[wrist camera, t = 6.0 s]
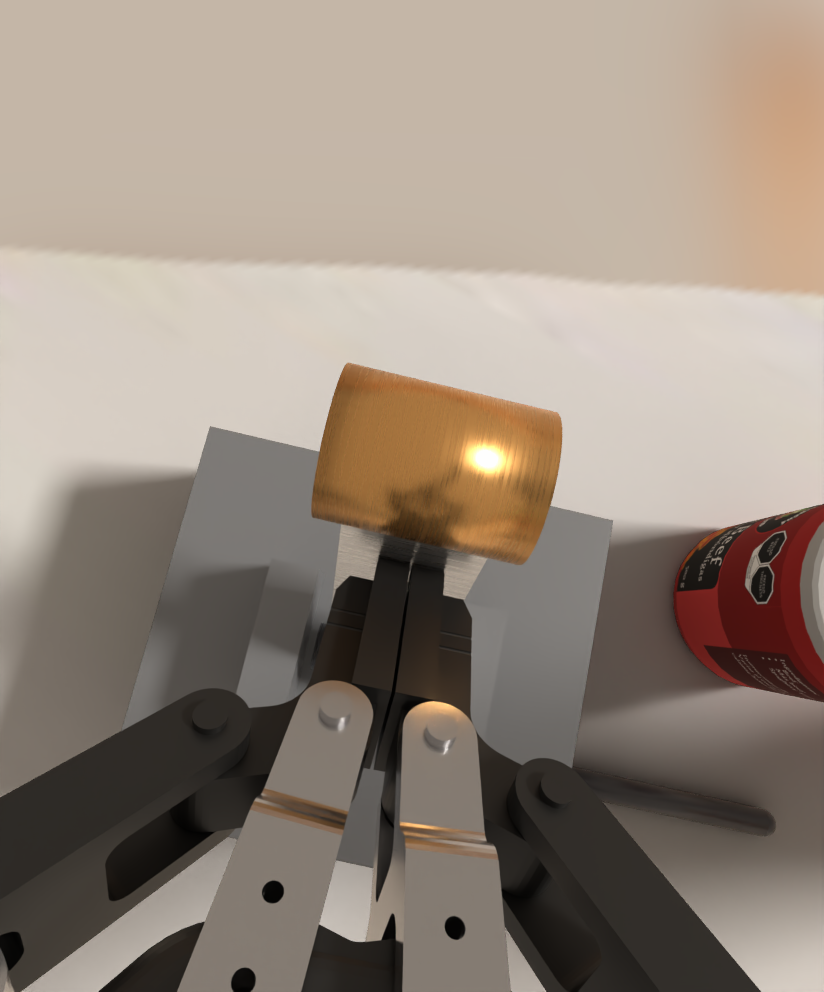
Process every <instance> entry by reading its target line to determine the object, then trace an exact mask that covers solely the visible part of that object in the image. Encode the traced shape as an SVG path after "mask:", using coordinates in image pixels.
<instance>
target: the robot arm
mask: <svg viewBox="0 0 824 992" xmlns="http://www.w3.org/2000/svg"><path fill="white" fill-rule="evenodd" d="M409 569H410V564H405V563H401V562H396V561H392V560H387V559H382V558H378V562H377V566H376V570H375V575H374V579H373V580H369V579H365V578H360V577H355V576H351V575H350V576H349V577H348V578H347V579H346V580H345V581H344V582H343V583H342V584H341V585H340V586H339V587H338V588H337V589H336V591H335V595H334V598H333V602H332V606H331V610H330V613H329V616H328V620H327V624H326V627H325V630H324V634H323V637H322V641H321V645H320V648H319V652H318V655H317V659H316V662H315V666H314V669H313V673H312V676H311V679H310V682H309V684H308V685H307V687H306V688H305V689H304V691H303V692H302V693H301V694H299V695H298V696H297V697H295V698H294V699H292V700H290V701H288V702H286V703H283V704H279V705H274V706H265V707H253V708H249V707H248V705H247V704H246V702H245V701H244V700H243V699H242V698H241V697H240V696H238V695H237V694H235V693H233V692H231V691H228V690H224V689H218V688H207V689H201V690H198V691H195V692H192V693H190V694H188V695H186V696H184V697H182V698H181V699H179V700H177V701H175V702H173V703H172V704H170V705H168V706H166V707H164V708H162V709H161V710H159V711H157V712H155V713H153V714H152V715H150V716H148V717H146V718H144V719H142V720H141V721H139V722H137V723H135V724H133V725H131V726H130V727H128V728H126V729H124V730H122V731H121V732H119V733H117V734H115V735H113V736H111V737H110V738H108V739H106V740H104V741H102V742H101V743H99V744H97V745H95V746H93V747H91V748H90V749H88V750H86V751H84V752H82V753H81V754H79V755H77V756H75V757H73V758H71V759H70V760H68V761H66V762H64V763H62V764H61V765H59V766H57V767H55V768H53V769H51V770H50V771H48V772H46V773H44V774H42V775H41V776H39V777H37V778H35V779H33V780H31V781H30V782H28V783H26V784H24V785H22V786H21V787H19V788H17V789H15V790H13V791H11V792H10V793H8V794H6V795H4V796H2V797H1V798H0V992H21V991H22V990H23V989H25V988H26V987H27V986H29V985H30V984H31V983H33V982H34V981H35V980H37V979H38V978H39V977H41V976H42V975H44V974H45V973H46V972H48V971H49V970H50V969H52V968H53V967H54V966H56V965H57V964H58V963H60V962H61V961H62V960H64V959H65V958H66V957H68V956H69V955H70V954H72V953H73V952H74V951H76V950H77V949H78V948H80V947H81V946H82V945H84V944H85V943H86V942H88V941H89V940H90V939H92V938H93V937H94V936H96V935H97V934H98V933H100V932H101V931H102V930H104V929H105V928H106V927H108V926H109V925H110V924H112V923H113V922H114V921H116V920H117V919H119V918H120V917H121V916H123V915H124V914H125V913H127V912H128V911H129V910H131V909H132V908H133V907H135V906H136V905H137V904H139V903H140V902H141V901H143V900H144V899H145V898H147V897H148V896H149V895H151V894H152V893H153V892H155V891H156V890H157V889H159V888H160V887H161V886H163V885H164V884H165V883H167V882H168V881H169V880H171V879H172V878H173V877H175V876H176V875H177V874H179V873H180V872H181V871H183V870H184V869H185V868H187V867H188V866H189V865H191V864H192V863H193V862H195V861H196V860H198V859H199V858H200V857H202V856H203V855H204V854H206V853H207V852H208V851H210V850H211V849H212V848H214V847H215V846H216V845H218V844H219V843H220V842H222V841H223V840H224V839H226V838H227V837H228V836H229V835H230V834H231V833H232V832H233V831H234V830H235V829H236V828H242V831H241V833H240V836H239V838H238V841H237V843H236V846H235V848H234V851H233V853H232V856H231V858H230V861H229V863H228V866H227V868H226V871H225V873H224V876H223V878H222V881H221V883H220V886H219V888H218V891H217V893H216V896H215V898H214V901H213V903H212V906H211V908H210V911H209V913H208V916H207V918H206V921H205V922H201V923H198V924H195V925H192V926H190V927H187V928H184V929H182V930H180V931H178V932H176V933H174V934H172V935H170V936H168V937H166V938H165V939H163V940H162V941H160V942H159V943H157V944H156V945H154V946H153V947H151V948H150V949H148V950H147V951H146V952H145V953H143V954H142V955H141V956H140V957H138V958H137V959H136V960H135V961H134V962H133V963H131V964H130V965H129V966H128V967H127V968H126V969H124V970H123V971H122V972H121V973H120V974H118V975H117V976H116V977H115V978H114V979H113V980H111V981H110V982H109V983H108V984H107V985H106V986H104V987H103V988H102V989H101V990H100V991H99V992H512V991H511V990H510V979H509V968H508V957H507V946H506V935H505V927H506V929H507V930H508V932H509V934H510V935H511V937H512V938H513V940H514V941H515V943H516V945H517V946H518V948H519V949H520V951H521V952H522V954H523V956H524V957H525V959H526V960H527V962H528V963H529V965H530V966H531V968H532V970H533V971H534V973H535V974H536V976H537V977H538V979H539V981H540V982H541V984H542V985H543V987H544V988H545V990H546V992H761V991H760V990H759V989H758V988H757V986H756V985H755V984H754V983H753V982H752V980H751V979H750V978H749V977H748V976H747V974H746V973H745V972H744V971H743V970H742V968H741V967H740V966H739V965H738V964H737V963H736V961H735V960H734V959H733V958H732V957H731V955H730V954H729V953H728V952H727V951H726V949H725V948H724V947H723V946H722V945H721V943H720V942H719V941H718V940H717V939H716V937H715V936H714V935H713V934H712V933H711V932H710V930H709V929H708V928H707V927H706V926H705V924H704V923H703V922H702V921H701V920H700V918H699V917H698V916H697V915H696V914H695V912H694V911H693V910H692V909H691V908H690V906H689V905H688V904H687V903H686V902H685V900H684V899H683V898H682V897H681V896H680V895H679V893H678V892H677V891H676V890H675V889H674V887H673V886H672V885H671V884H670V883H669V881H668V880H667V879H666V878H665V877H664V875H663V874H662V873H661V872H660V871H659V869H658V868H657V867H656V866H655V865H654V864H653V862H652V861H651V860H650V859H649V858H648V856H647V855H646V854H645V853H644V852H643V850H642V849H641V848H640V847H639V846H638V844H637V843H636V842H635V841H634V840H633V838H632V837H631V836H630V835H629V834H628V833H627V831H626V830H625V829H624V828H623V827H622V825H621V824H620V823H619V822H618V821H617V819H616V818H615V817H614V816H613V815H612V813H611V812H610V811H609V810H608V809H607V807H606V806H605V805H604V804H603V803H602V802H601V800H600V799H599V798H598V797H597V796H596V794H595V793H594V792H593V791H592V790H591V788H590V787H589V786H588V785H587V784H586V782H585V781H584V780H583V779H582V778H581V777H580V776H579V775H578V773H577V772H575V771H574V770H573V769H572V768H570V767H569V766H567V765H566V764H564V763H562V762H560V761H557V760H554V759H549V758H536V759H532V760H530V761H528V762H526V763H525V764H524V765H521V764H519V763H517V762H515V761H513V760H511V759H510V758H508V757H506V756H504V755H502V754H500V753H498V752H497V751H495V750H494V749H492V748H491V747H490V746H489V745H487V744H486V743H485V742H484V741H483V740H482V738H481V737H480V736H479V734H478V733H477V731H476V729H475V727H474V725H473V723H472V719H471V711H470V707H471V652H472V640H471V638H472V617H471V615H470V613H469V611H468V609H467V606H466V604H465V602H464V600H463V599H458V598H453V597H449V596H444V595H443V590H444V577H445V573H444V572H443V571H438V570H434V569H429V568H425V567H420V566H415V565H412V568H411V571H410V575H409ZM408 576H409V579H408ZM377 742H378V744H377ZM376 746H377V750H376V757H375V763H374V770H378V771H383V772H385V776H384V783H383V790H382V794H381V798H380V801H379V804H378V808H377V817H376V833H375V849H374V864H373V880H372V896H371V909H370V918H369V924H368V930H367V935H366V941H365V942H353V941H350V940H348V939H346V938H344V937H342V936H340V935H338V934H336V933H334V932H332V931H331V930H329V929H327V928H325V927H323V926H321V925H319V922H320V918H321V914H322V911H323V907H324V903H325V899H326V895H327V892H328V888H329V884H330V880H331V876H332V873H333V869H334V865H335V861H336V857H337V854H338V850H339V846H340V842H341V838H342V834H343V831H344V827H345V823H346V819H347V815H348V812H349V808H350V804H351V803H352V802H353V800H354V799H355V796H356V794H357V790H358V787H359V783H360V779H361V776H362V772H363V768H367V769H370V767H371V764H372V760H373V757H374V753H375V749H376Z"/></svg>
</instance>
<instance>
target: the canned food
mask: <svg viewBox="0 0 824 992" xmlns="http://www.w3.org/2000/svg"><path fill="white" fill-rule="evenodd" d="M673 598H674V612H675V617H676V622H677V625H678V628H679V630H680V633H681V635H682V637H683V639H684V641H685V642H686V644H687V646H688V647H689V649H690V650H691V651H692V653H693V654H694V655H695V656H696V657H697V658H698V659H699V660H700V661H701V662H702V663H703V664H704V665H705V666H706V667H708V668H709V669H710V670H711V671H713V672H714V673H715V674H716V675H718V676H720V677H722V678H724V679H726V680H728V681H730V682H732V683H735V684H739V685H742V686H746V687H751V688H756V689H761V690H766V691H771V692H776V693H780V694H785V695H790V696H795V697H800V698H805V699H810V700H815V701H820V702H824V504H822V505H817V506H813V507H809V508H805V509H801V510H797V511H793V512H789V513H784V514H780V515H776V516H772V517H768V518H764V519H760V520H756V521H751V522H747V523H743V524H739V525H735V526H731V527H727V528H724V529H721V530H719V531H716V532H713V533H712V534H710V535H709V536H707V537H706V538H704V539H703V540H701V541H700V542H699V543H698V545H697V546H696V547H695V548H694V549H693V550H692V551H691V552H690V553H689V554H688V555H687V557H686V558H685V560H684V562H683V563H682V565H681V566H680V569H679V572H678V575H677V577H676V581H675V587H674V593H673Z"/></svg>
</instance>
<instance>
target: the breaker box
mask: <svg viewBox="0 0 824 992" xmlns="http://www.w3.org/2000/svg"><path fill="white" fill-rule="evenodd" d="M318 457H319V452H317V451H313V450H309V449H305V448H300V447H296V446H292V445H288V444H283V443H279V442H275V441H270V440H266V439H262V438H258V437H253V436H249V435H245V434H241V433H236V432H232V431H228V430H223V429H219V428H215V427H211V426H210V428H209V432H208V435H207V439H206V442H205V445H204V449H203V452H202V456H201V459H200V463H199V466H198V469H197V473H196V476H195V480H194V483H193V487H192V490H191V493H190V497H189V500H188V504H187V507H186V511H185V514H184V517H183V521H182V524H181V528H180V531H179V535H178V538H177V541H176V545H175V548H174V552H173V555H172V559H171V562H170V565H169V569H168V572H167V576H166V579H165V583H164V586H163V589H162V593H161V596H160V600H159V603H158V607H157V610H156V613H155V617H154V620H153V624H152V627H151V631H150V634H149V637H148V641H147V644H146V648H145V651H144V655H143V658H142V661H141V665H140V668H139V672H138V675H137V679H136V682H135V685H134V689H133V692H132V696H131V699H130V703H129V706H128V709H127V713H126V716H125V720H124V723H123V727H122V730H124V729H126V728H128V727H130V726H131V725H133V724H135V723H137V722H139V721H141V720H142V719H144V718H146V717H148V716H150V715H152V714H153V713H155V712H157V711H159V710H161V709H162V708H164V707H166V706H168V705H170V704H172V703H173V702H175V701H177V700H179V699H181V698H182V697H184V696H186V695H188V694H190V693H192V692H195V691H198V690H201V689H207V688H218V689H224V690H228V691H231V692H233V693H235V694H237V695H238V696H240V697H241V698H242V699H243V700H244V701H245V702H246V704H247V705H248V707H249V708H253V707H265V706H274V705H279V704H283V703H286V702H288V701H290V700H292V699H294V698H295V697H297V696H298V695H299V694H301V693H302V692H303V691H304V689H305V688H306V687H307V685H308V684H309V682H310V679H311V676H312V673H313V670H311V669H310V665H311V659H312V655H313V650H314V646H315V642H316V638H317V635H318V631H319V628H320V625H321V623H325V624H327V620H328V616H329V613H330V610H331V606H332V598H333V589H334V581H335V572H336V564H337V555H338V547H339V539H340V530H341V524H337V523H333V522H329V521H324V520H320V519H316V518H313V517H312V514H311V504H312V493H313V486H314V479H315V473H316V468H317V462H318ZM612 525H613V521H612V520H608V519H604V518H600V517H595V516H591V515H587V514H582V513H578V512H574V511H570V510H565V509H561V508H557V507H553V506H550V508H549V511H548V514H547V518H546V521H545V524H544V526H543V529H542V532H541V534H540V537H539V539H538V541H537V544H536V546H535V548H534V550H533V552H532V553H531V555H530V557H529V558H528V559H527V561H526V562H525V563H524V564H522V565H515V564H511V563H506V562H502V561H498V560H493V559H489V558H487V560H486V562H485V564H484V566H483V567H482V569H481V571H480V573H479V574H478V576H477V578H476V580H475V582H474V583H473V585H472V587H471V589H470V591H469V592H468V594H467V596H466V598H465V599H464V602H465V604H466V606H467V609H468V611H469V613H470V615H471V617H472V638H471V640H472V652H471V707H470V711H471V719H472V723H473V725H474V727H475V729H476V731H477V733H478V734H479V736H480V737H481V738H482V740H483V741H484V742H485V743H486V744H487V745H489V746H490V747H491V748H492V749H494V750H495V751H497V752H498V753H500V754H502V755H504V756H506V757H508V758H510V759H511V760H513V761H515V762H517V763H519V764H521V765H524V764H525V763H526V762H528V761H530V760H532V759H536V758H549V759H554V760H557V761H560V762H562V763H564V764H566V765H567V766H569V767H570V768H572V769H573V770H574V771H575V772H577V773H578V775H579V776H580V777H581V778H582V779H583V780H584V781H585V782H586V784H587V785H588V786H589V787H590V788H591V790H592V791H593V792H594V793H595V794H596V796H597V797H598V798H599V799H600V800H601V801H604V802H608V803H613V804H617V805H622V806H627V807H631V808H636V809H640V810H645V811H649V812H654V813H658V814H663V815H668V816H672V817H677V818H681V819H686V820H690V821H695V822H699V823H704V824H708V825H713V826H718V827H722V828H727V829H731V830H736V831H740V832H745V833H749V834H754V835H758V836H769V835H771V834H772V833H773V832H774V831H775V828H776V822H775V819H774V817H773V816H772V815H771V814H770V813H769V812H768V811H766V810H764V809H761V808H756V807H752V806H747V805H743V804H738V803H734V802H729V801H725V800H720V799H716V798H711V797H707V796H702V795H698V794H693V793H689V792H684V791H680V790H675V789H671V788H666V787H662V786H657V785H652V784H648V783H643V782H639V781H634V780H630V779H625V778H621V777H616V776H612V775H607V774H603V773H598V772H594V771H589V770H585V769H580V768H576V767H572V765H573V759H574V753H575V747H576V741H577V735H578V729H579V723H580V717H581V711H582V705H583V699H584V693H585V687H586V681H587V675H588V669H589V663H590V657H591V651H592V645H593V639H594V633H595V627H596V621H597V615H598V609H599V603H600V597H601V591H602V585H603V579H604V573H605V567H606V561H607V555H608V549H609V543H610V537H611V531H612ZM122 730H121V731H122ZM377 744H378V742H377ZM376 750H377V746H376V749H375V753H374V757H373V760H372V764H371V767H370V769H367V768H363V772H362V776H361V779H360V783H359V787H358V790H357V794H356V796H355V799H354V800H353V802H352V803H351V804H350V808H349V812H348V815H347V819H346V823H345V827H344V831H343V834H342V838H341V842H340V846H339V850H338V854H337V857H336V860H338V861H342V862H347V863H352V864H356V865H361V866H366V867H370V868H373V864H374V849H375V833H376V817H377V808H378V804H379V801H380V798H381V794H382V790H383V783H384V776H385V772H383V771H378V770H374V763H375V757H376ZM241 831H242V828H236V829H235V830H234V831H233V832H232V833H231V834H230V835H229V836H228V837H230V838H235V839H238V838H239V836H240V833H241Z"/></svg>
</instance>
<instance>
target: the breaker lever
mask: <svg viewBox="0 0 824 992" xmlns="http://www.w3.org/2000/svg"><path fill="white" fill-rule="evenodd" d="M561 447H562V423H561V418H560V416H559V414H558V413H557V412H553V411H549V410H544V409H540V408H536V407H532V406H528V405H524V404H519V403H515V402H511V401H507V400H503V399H498V398H494V397H490V396H486V395H482V394H477V393H473V392H469V391H465V390H461V389H456V388H452V387H448V386H444V385H440V384H436V383H431V382H427V381H423V380H419V379H415V378H410V377H406V376H402V375H398V374H394V373H389V372H385V371H381V370H377V369H373V368H368V367H364V366H360V365H356V364H352V363H347V364H346V365H345V367H344V369H343V371H342V373H341V375H340V378H339V381H338V384H337V387H336V390H335V393H334V396H333V399H332V403H331V406H330V410H329V414H328V418H327V422H326V426H325V430H324V434H323V438H322V443H321V447H320V452H319V457H318V462H317V468H316V473H315V479H314V486H313V493H312V504H311V514H312V517H313V518H316V519H320V520H324V521H329V522H333V523H337V524H341V530H340V539H339V547H338V555H337V564H336V572H335V581H334V589H333V598H334V595H335V591H336V589H337V588H338V587H339V586H340V585H341V584H342V583H343V582H344V581H345V580H346V579H347V578H348V577H349V576H350V575H351V576H355V577H360V578H365V579H369V580H373V579H374V575H375V570H376V566H377V562H378V558H382V559H387V560H392V561H396V562H401V563H405V564H410V569H409V575H410V571H411V568H412V565H415V566H420V567H425V568H429V569H434V570H438V571H443V572H444V573H445V577H444V590H443V595H444V596H449V597H453V598H458V599H463V600H464V599H465V598H466V596H467V594H468V592H469V591H470V589H471V587H472V585H473V583H474V582H475V580H476V578H477V576H478V574H479V573H480V571H481V569H482V567H483V566H484V564H485V562H486V560H487V558H489V559H493V560H498V561H502V562H506V563H511V564H515V565H522V564H524V563H525V562H526V561H527V559H528V558H529V557H530V555H531V553H532V552H533V550H534V548H535V546H536V544H537V541H538V539H539V537H540V534H541V532H542V529H543V526H544V524H545V521H546V518H547V514H548V511H549V508H550V504H551V501H552V497H553V493H554V489H555V485H556V480H557V475H558V469H559V463H560V456H561ZM408 579H409V576H408ZM333 598H332V602H333ZM325 627H326V624H325V623H321V625H320V628H319V631H318V635H317V638H316V642H315V646H314V650H313V655H312V659H311V665H310V669H311V670H313V669H314V666H315V662H316V659H317V655H318V652H319V648H320V645H321V641H322V637H323V634H324V630H325Z"/></svg>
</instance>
